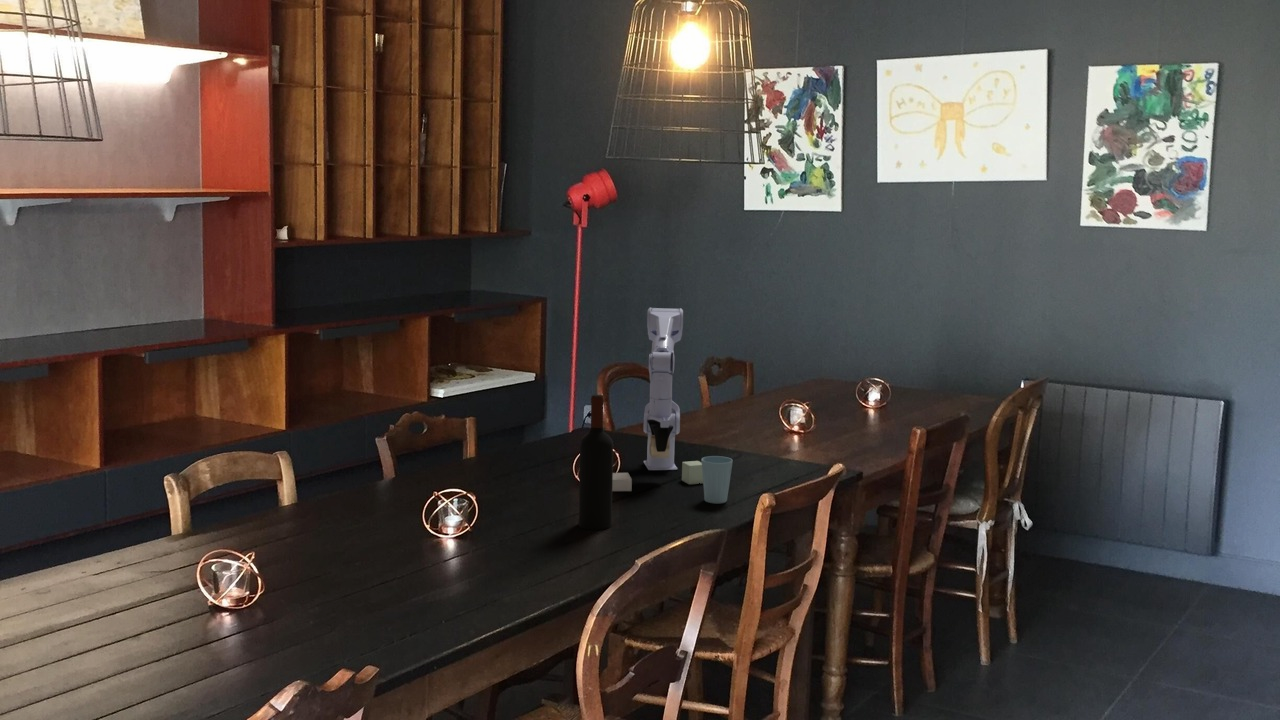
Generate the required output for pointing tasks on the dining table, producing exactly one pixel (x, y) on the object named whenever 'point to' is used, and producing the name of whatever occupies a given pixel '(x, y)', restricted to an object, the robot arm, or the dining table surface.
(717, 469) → the cup
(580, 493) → the wine bottle
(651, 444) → the oak block
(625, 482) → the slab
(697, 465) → the sage block
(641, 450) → the dining table surface
